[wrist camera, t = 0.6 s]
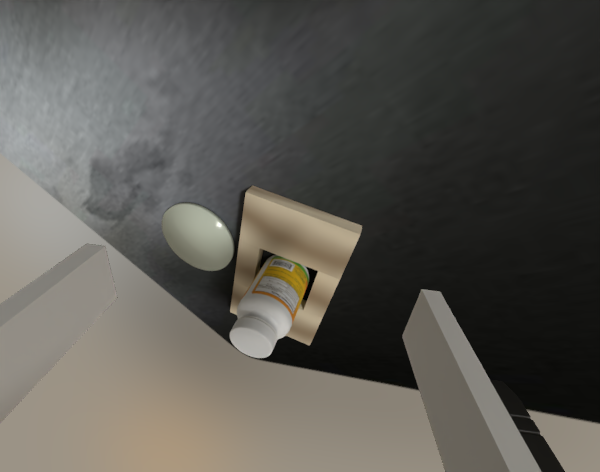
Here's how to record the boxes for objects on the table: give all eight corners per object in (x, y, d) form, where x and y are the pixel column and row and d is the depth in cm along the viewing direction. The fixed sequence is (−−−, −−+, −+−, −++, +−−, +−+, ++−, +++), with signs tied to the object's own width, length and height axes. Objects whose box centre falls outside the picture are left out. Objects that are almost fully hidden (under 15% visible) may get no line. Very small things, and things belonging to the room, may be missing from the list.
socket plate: (252, 185, 27) (245, 192, 26) (362, 225, 26) (360, 234, 25) (235, 303, 38) (229, 312, 37) (312, 335, 37) (309, 345, 36)
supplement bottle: (284, 294, 35) (248, 367, 27) (255, 261, 33) (210, 329, 25) (319, 281, 32) (292, 359, 24) (291, 245, 30) (251, 315, 22)
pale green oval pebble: (162, 190, 31) (159, 193, 31) (238, 219, 30) (235, 222, 30) (167, 251, 37) (164, 254, 36) (231, 277, 36) (229, 281, 35)
